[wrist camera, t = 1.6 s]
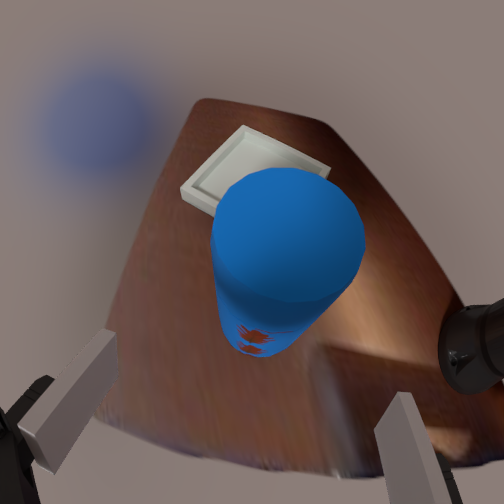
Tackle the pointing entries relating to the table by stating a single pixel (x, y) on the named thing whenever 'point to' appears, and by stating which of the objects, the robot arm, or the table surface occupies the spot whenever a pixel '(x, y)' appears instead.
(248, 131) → the tray
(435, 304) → the table surface
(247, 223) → the thermos
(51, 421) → the robot arm
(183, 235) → the table surface
